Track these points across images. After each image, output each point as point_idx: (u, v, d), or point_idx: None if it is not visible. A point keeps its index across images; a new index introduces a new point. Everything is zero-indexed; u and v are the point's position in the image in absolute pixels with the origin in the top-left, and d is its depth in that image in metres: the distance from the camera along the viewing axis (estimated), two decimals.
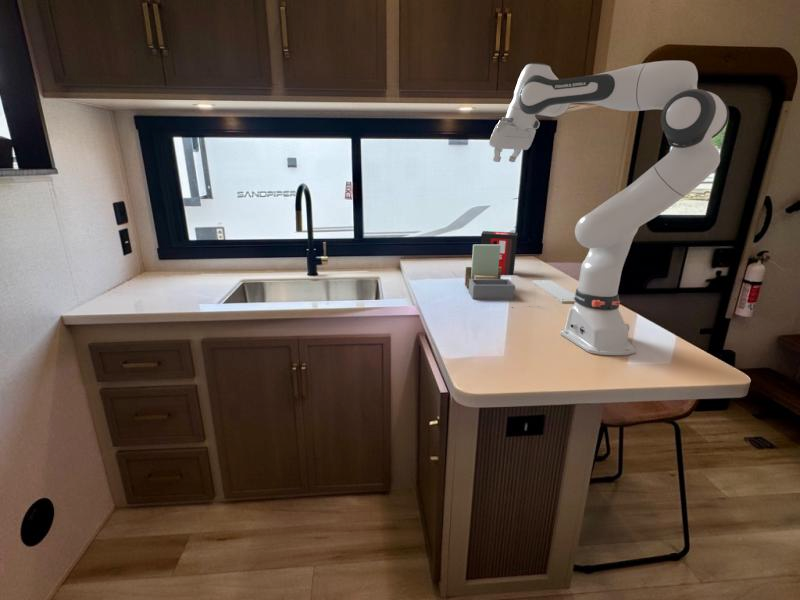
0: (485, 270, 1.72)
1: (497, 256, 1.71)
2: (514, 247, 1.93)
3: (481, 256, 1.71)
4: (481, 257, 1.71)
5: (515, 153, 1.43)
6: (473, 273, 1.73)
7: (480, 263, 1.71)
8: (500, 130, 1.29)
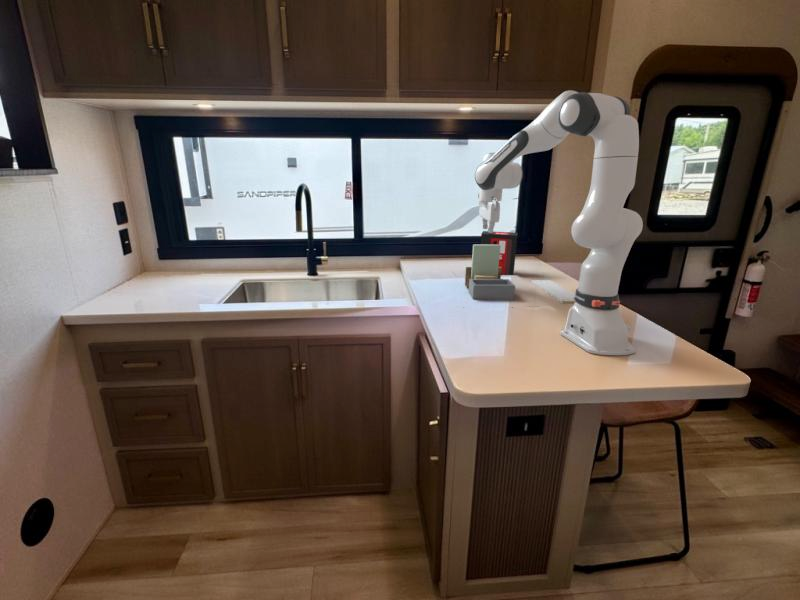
0: (485, 270, 1.72)
1: (497, 256, 1.71)
2: (514, 247, 1.93)
3: (481, 256, 1.71)
4: (481, 257, 1.71)
5: (485, 221, 1.72)
6: (473, 273, 1.73)
7: (480, 263, 1.71)
8: (497, 208, 1.56)
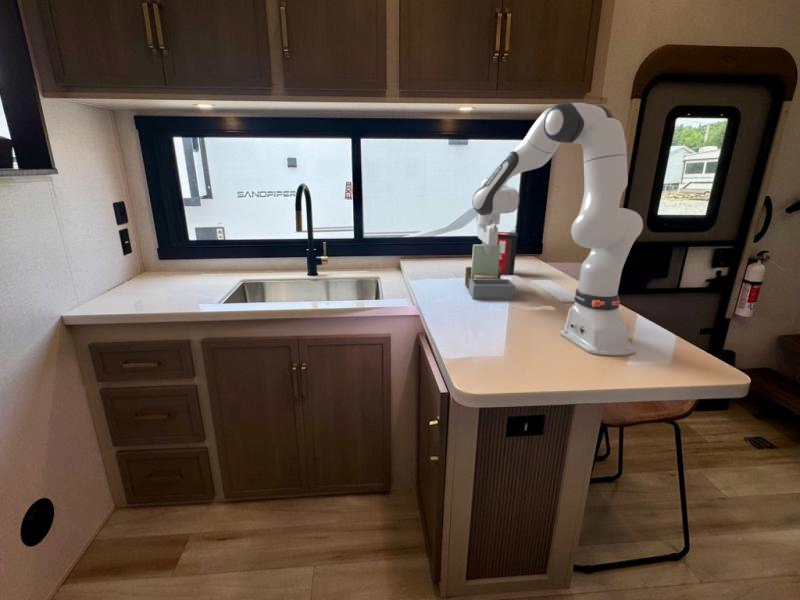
0: (485, 270, 1.72)
1: (497, 256, 1.71)
2: (514, 247, 1.93)
3: (481, 256, 1.71)
4: (481, 257, 1.71)
5: (485, 245, 1.72)
6: (473, 273, 1.73)
7: (480, 263, 1.71)
8: (495, 232, 1.59)
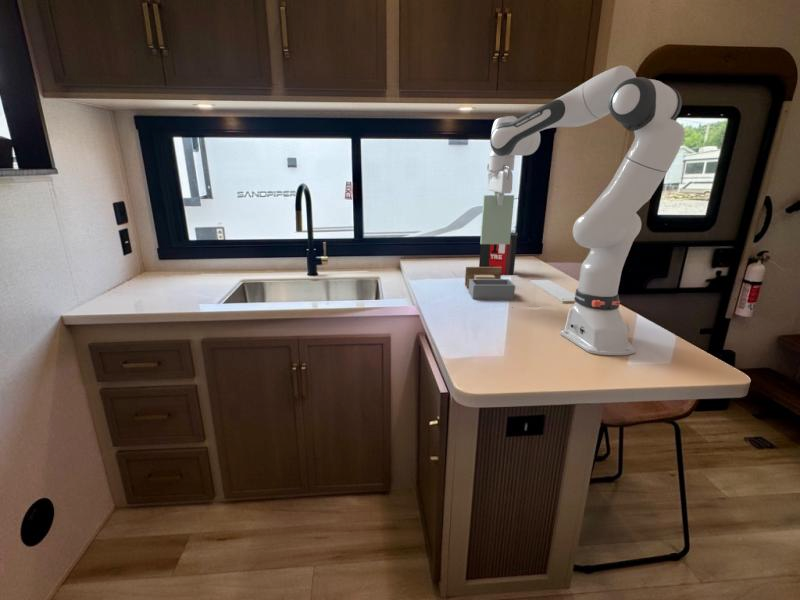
0: (497, 225, 1.54)
1: (510, 208, 1.52)
2: (514, 247, 1.93)
3: (493, 208, 1.52)
4: (493, 209, 1.52)
5: None
6: (483, 228, 1.54)
7: (491, 216, 1.53)
8: (510, 177, 1.40)
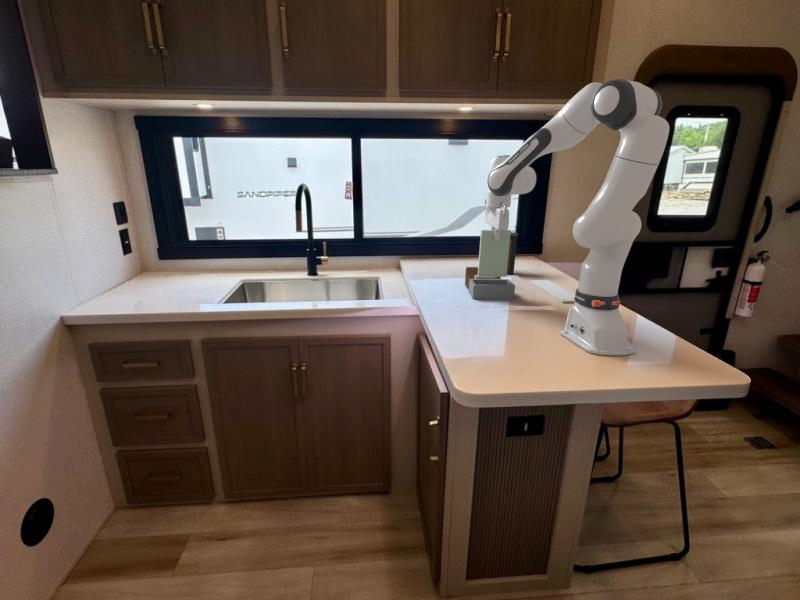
0: (494, 258, 1.58)
1: (507, 242, 1.56)
2: (514, 247, 1.93)
3: (490, 242, 1.56)
4: (490, 243, 1.56)
5: None
6: (481, 261, 1.58)
7: (488, 250, 1.57)
8: (506, 215, 1.44)
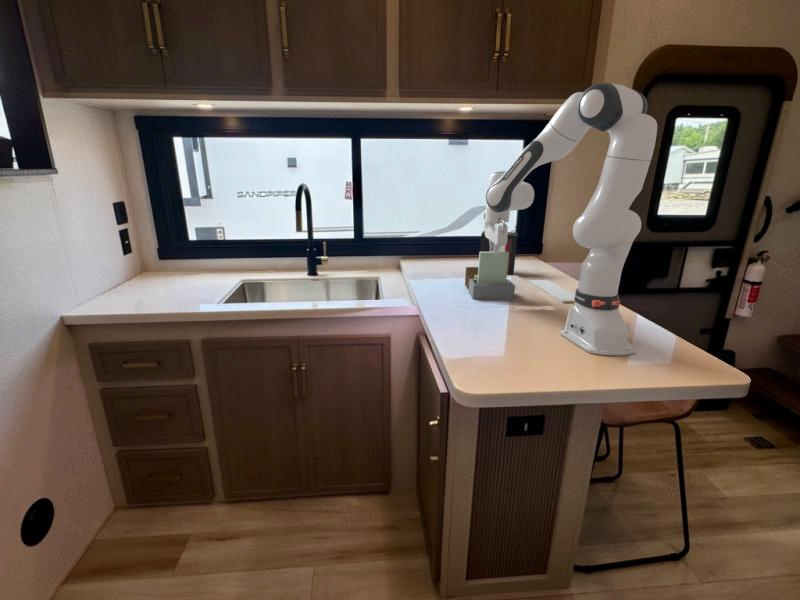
0: (492, 279, 1.61)
1: (505, 264, 1.59)
2: (514, 247, 1.93)
3: (488, 264, 1.59)
4: (488, 265, 1.59)
5: (492, 244, 1.61)
6: (479, 282, 1.61)
7: (486, 271, 1.60)
8: (505, 230, 1.46)
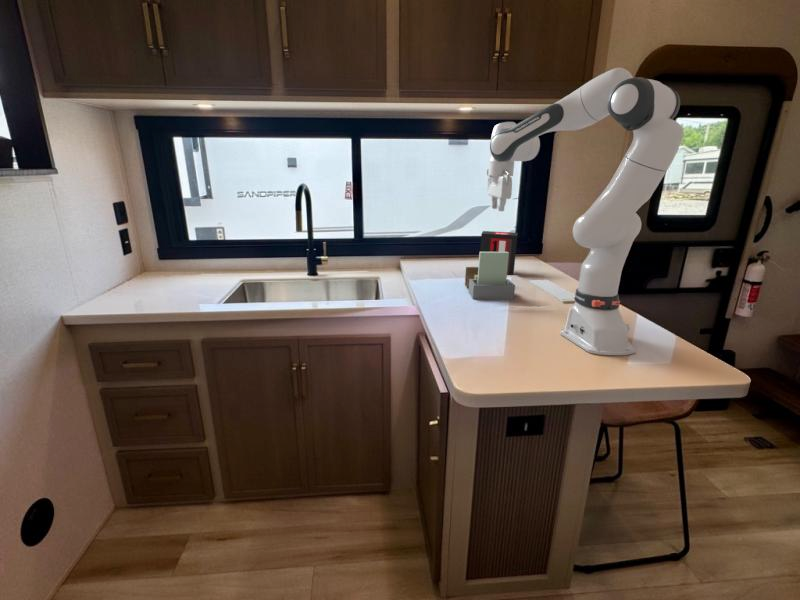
0: (492, 279, 1.61)
1: (505, 264, 1.59)
2: (514, 247, 1.93)
3: (488, 264, 1.59)
4: (488, 265, 1.59)
5: (494, 200, 1.57)
6: (479, 282, 1.61)
7: (486, 271, 1.60)
8: (509, 182, 1.41)
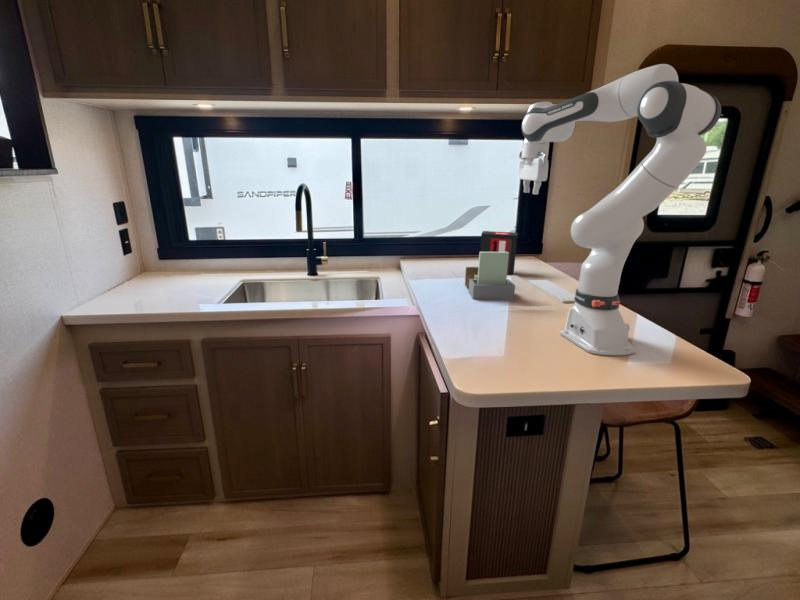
0: (492, 279, 1.61)
1: (505, 264, 1.59)
2: (514, 247, 1.93)
3: (488, 264, 1.59)
4: (488, 265, 1.59)
5: (526, 184, 1.53)
6: (479, 282, 1.61)
7: (486, 271, 1.60)
8: (546, 164, 1.37)
